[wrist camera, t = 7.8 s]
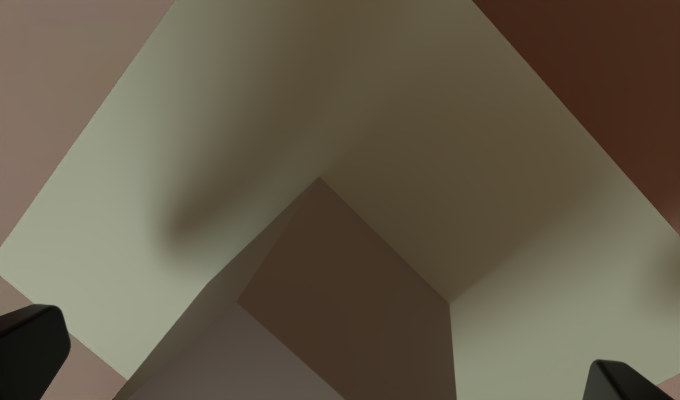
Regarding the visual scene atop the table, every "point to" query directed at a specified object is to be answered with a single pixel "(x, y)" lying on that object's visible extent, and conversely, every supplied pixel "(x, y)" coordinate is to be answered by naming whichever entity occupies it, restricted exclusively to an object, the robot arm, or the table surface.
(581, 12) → the table surface
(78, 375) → the table surface
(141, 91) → the lid
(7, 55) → the table surface
